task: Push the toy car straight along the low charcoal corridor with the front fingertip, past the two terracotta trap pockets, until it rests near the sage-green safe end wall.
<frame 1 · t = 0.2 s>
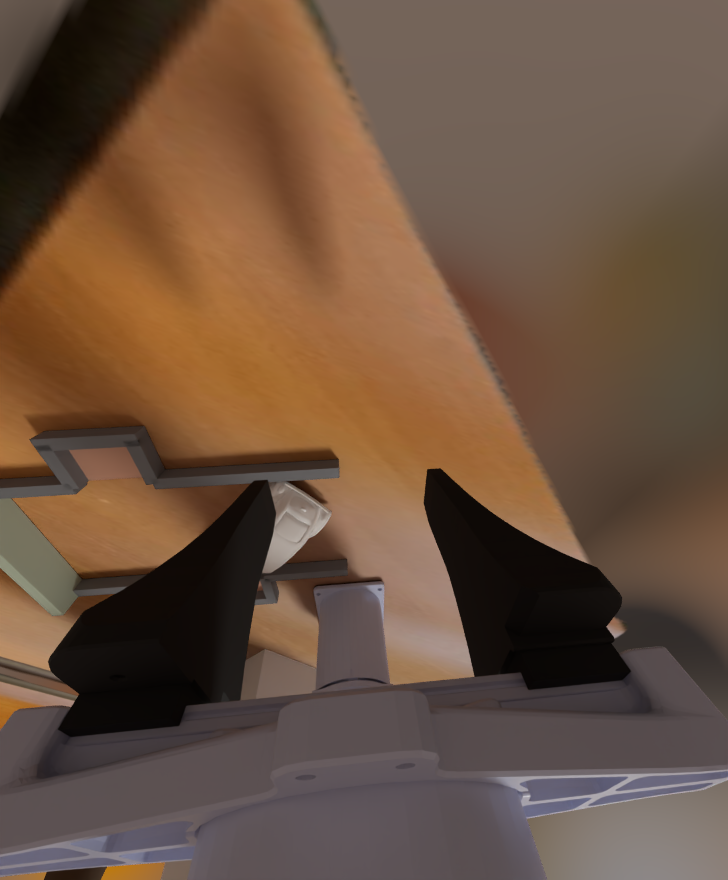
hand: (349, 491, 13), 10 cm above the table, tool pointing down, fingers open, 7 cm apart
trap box: (199, 529, 27), on the table
milk: (270, 673, 44), on the table
beer bottle: (178, 636, 37), on the table
car: (270, 519, 28), on the table
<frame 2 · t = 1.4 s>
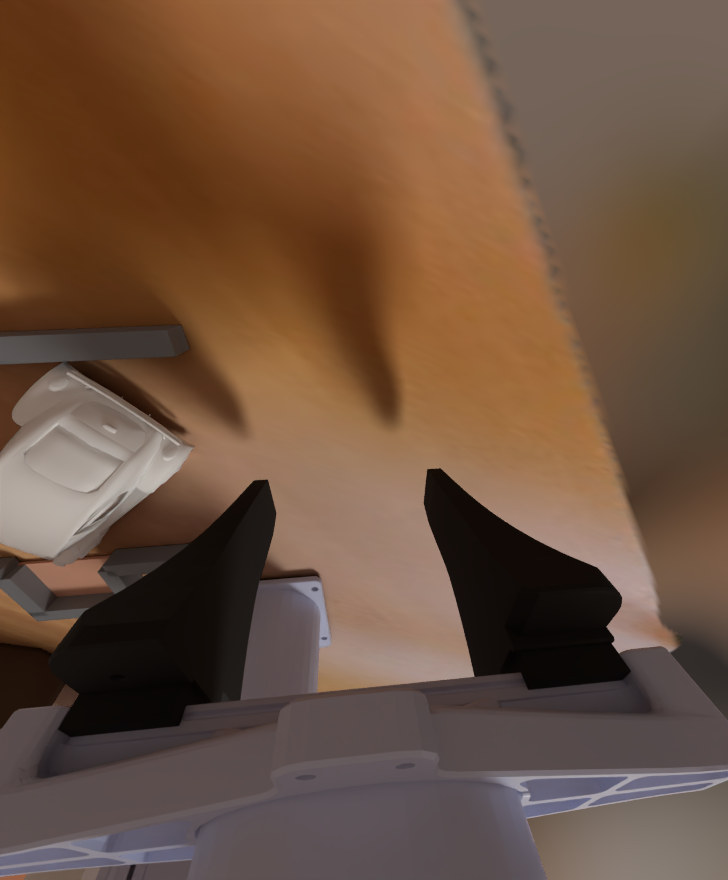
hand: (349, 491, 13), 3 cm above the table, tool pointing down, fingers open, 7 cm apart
milk: (185, 709, 31), on the table
beer bottle: (23, 662, 24), on the table
car: (96, 465, 16), on the table
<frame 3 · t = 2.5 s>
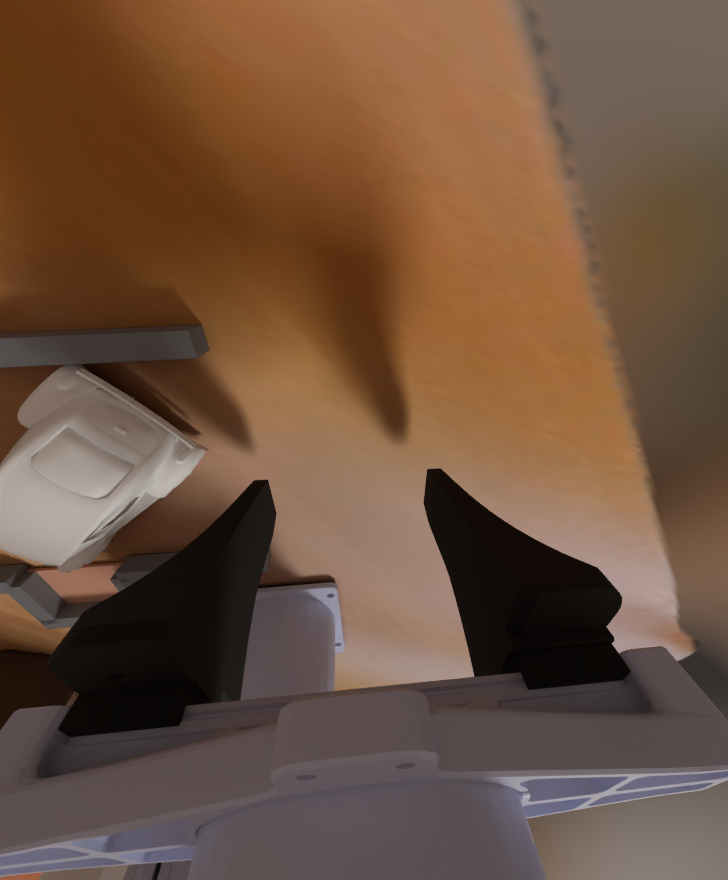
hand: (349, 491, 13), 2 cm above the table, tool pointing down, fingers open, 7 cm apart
milk: (194, 713, 31), on the table
beer bottle: (31, 668, 24), on the table
car: (103, 468, 15), on the table
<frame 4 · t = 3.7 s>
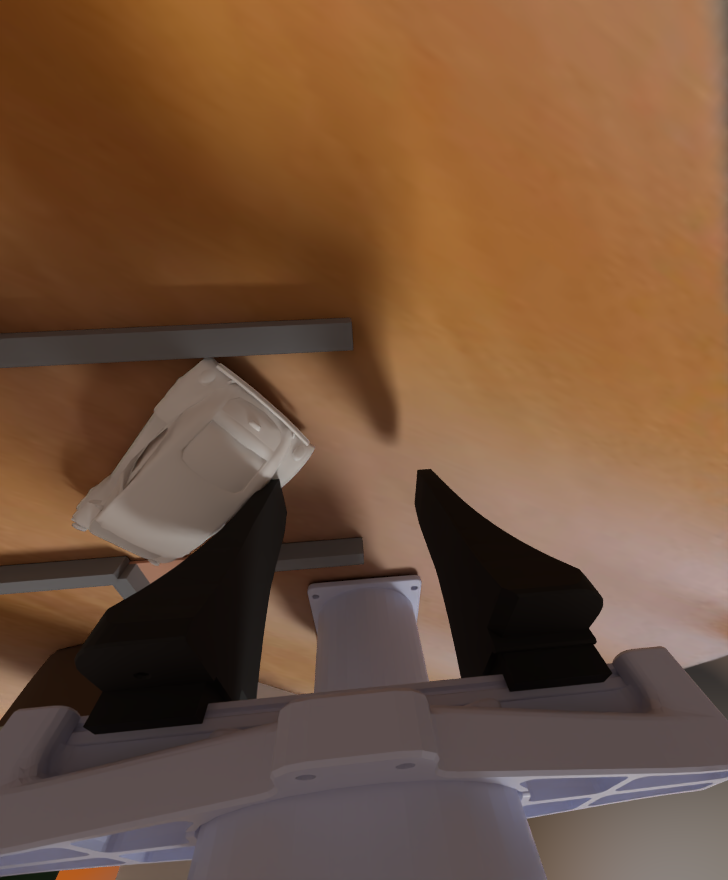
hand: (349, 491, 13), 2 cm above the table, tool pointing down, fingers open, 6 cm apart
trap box: (92, 477, 15), on the table
milk: (251, 707, 31), on the table
beer bottle: (106, 661, 24), on the table
car: (200, 462, 15), on the table, touching gripper
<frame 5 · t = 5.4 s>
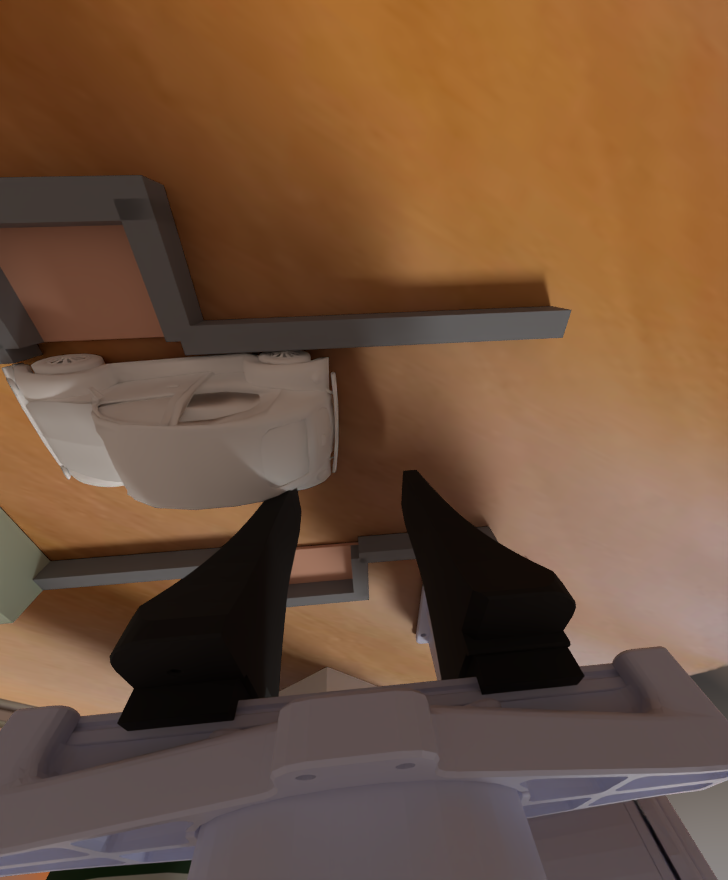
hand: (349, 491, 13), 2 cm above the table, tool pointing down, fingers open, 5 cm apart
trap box: (256, 465, 15), on the table
milk: (326, 698, 32), on the table
beer bottle: (205, 651, 24), on the table
car: (209, 410, 13), on the table, touching gripper, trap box
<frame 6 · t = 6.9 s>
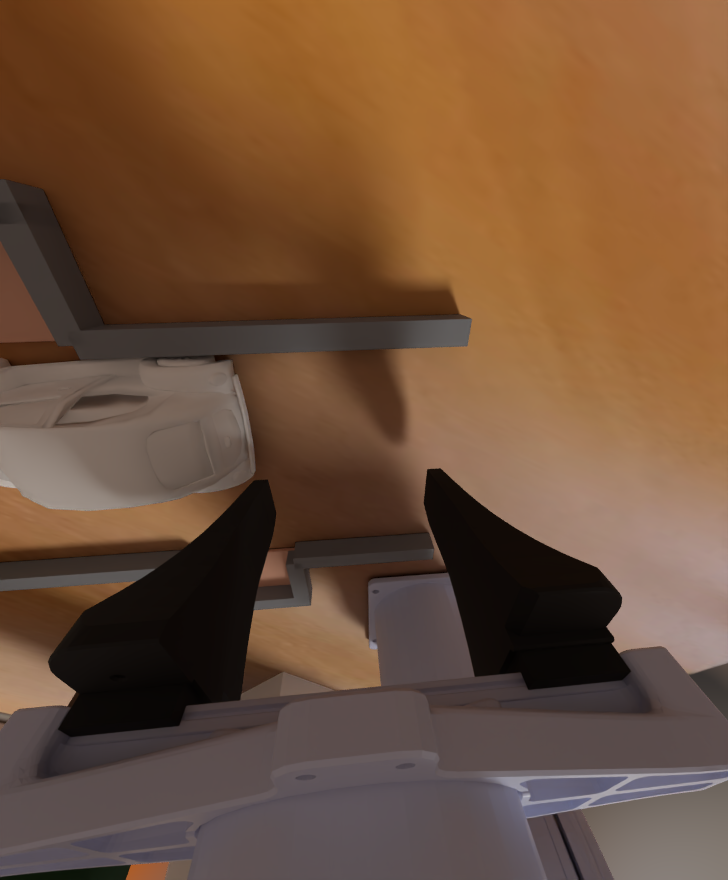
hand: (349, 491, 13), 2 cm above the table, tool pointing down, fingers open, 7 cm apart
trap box: (180, 469, 15), on the table
milk: (287, 703, 31), on the table
beer bottle: (155, 655, 24), on the table
car: (127, 412, 14), on the table
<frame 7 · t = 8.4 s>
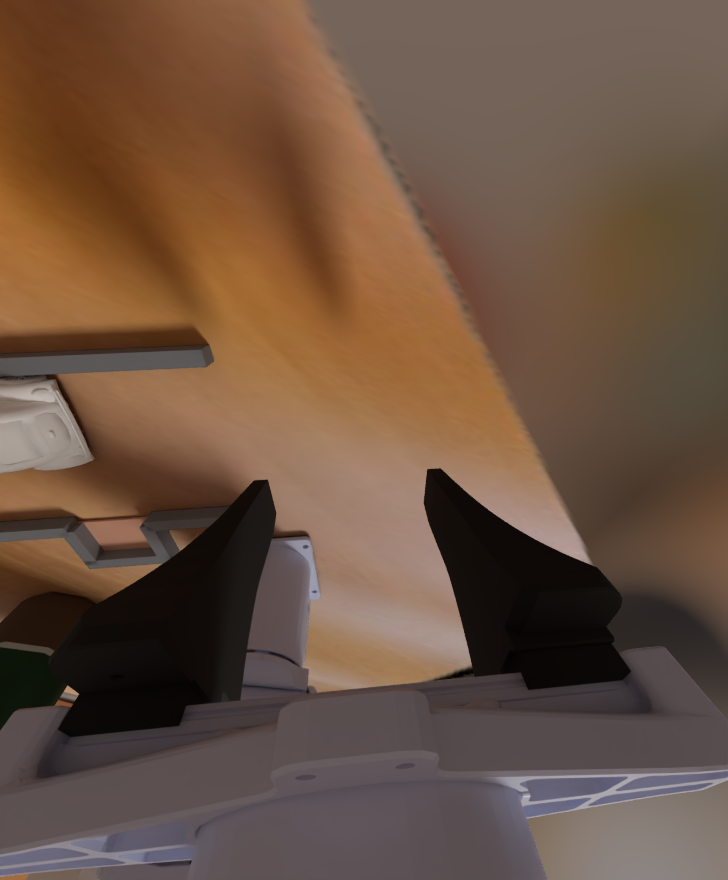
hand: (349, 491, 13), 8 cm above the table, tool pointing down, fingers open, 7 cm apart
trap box: (44, 454, 20), on the table
milk: (198, 660, 37), on the table
beer bottle: (69, 610, 30), on the table
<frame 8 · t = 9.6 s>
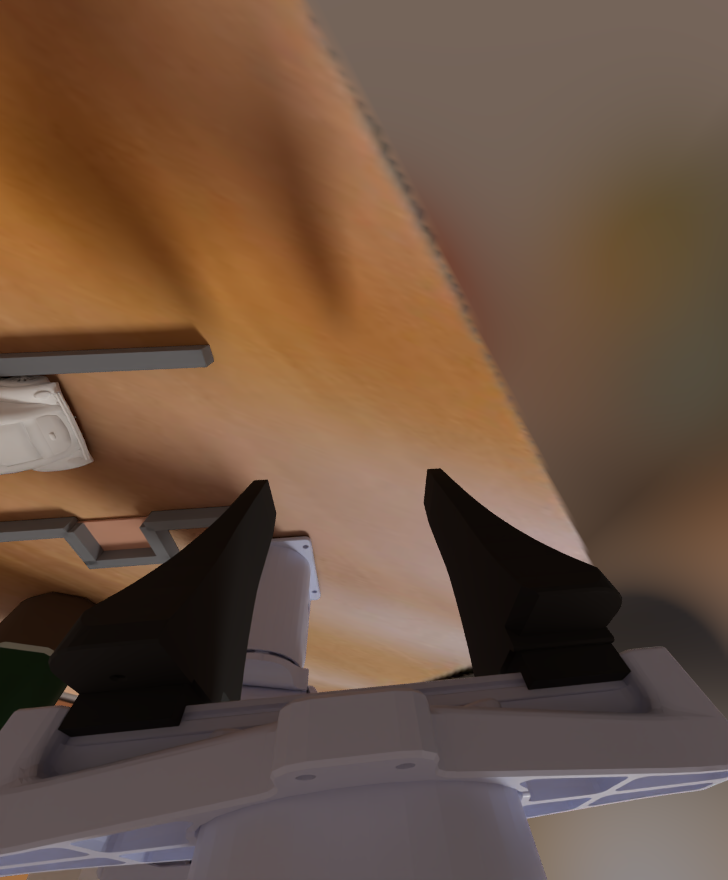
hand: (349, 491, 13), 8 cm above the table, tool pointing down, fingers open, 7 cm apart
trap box: (44, 454, 20), on the table
milk: (198, 660, 37), on the table
beer bottle: (69, 610, 30), on the table
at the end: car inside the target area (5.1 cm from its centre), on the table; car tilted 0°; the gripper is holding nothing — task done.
